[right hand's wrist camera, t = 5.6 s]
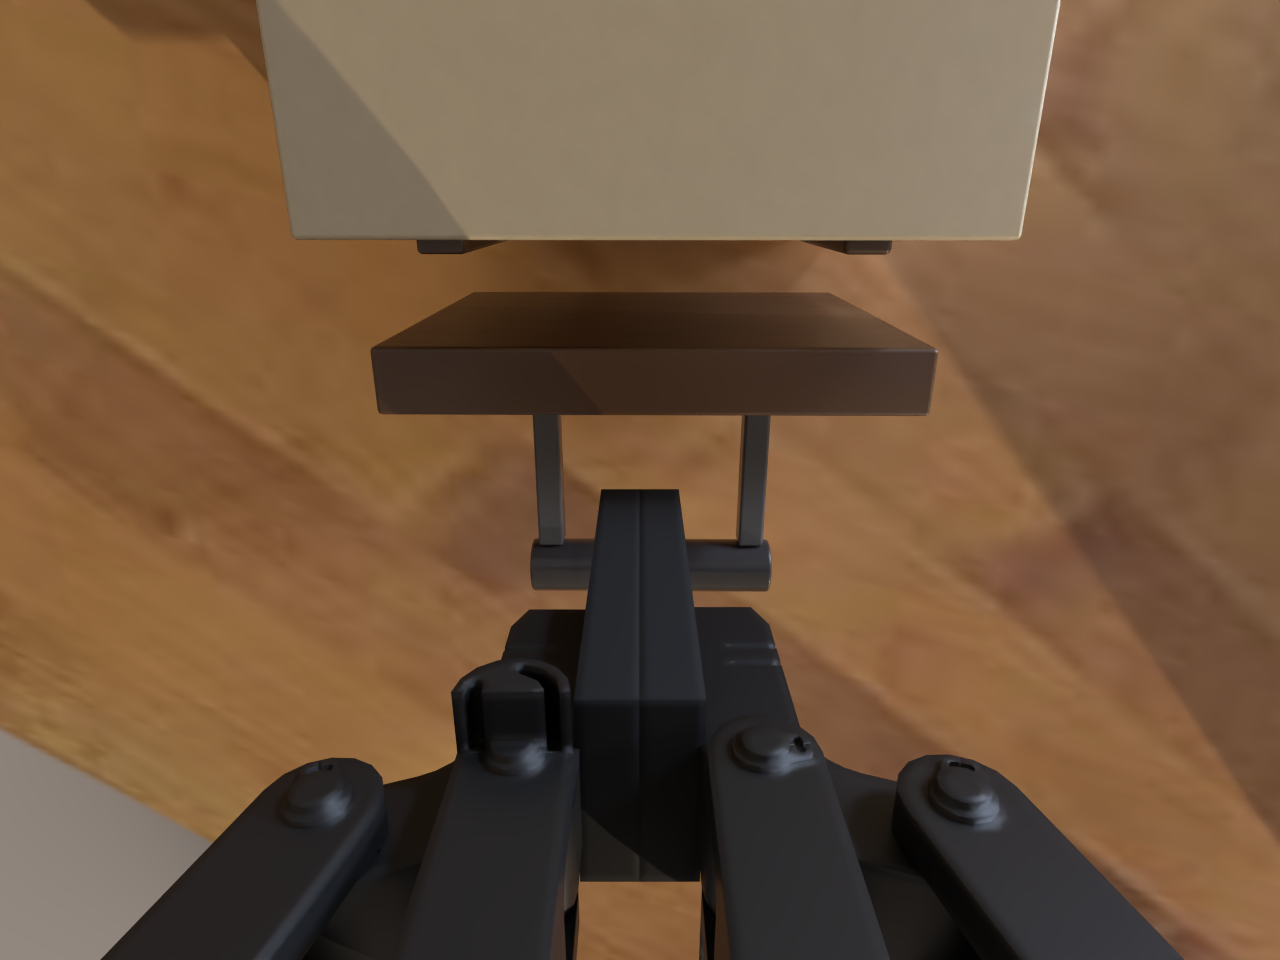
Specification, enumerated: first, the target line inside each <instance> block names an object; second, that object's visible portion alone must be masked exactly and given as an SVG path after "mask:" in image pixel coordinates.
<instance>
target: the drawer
mask: <svg viewBox="0 0 1280 960" xmlns="http://www.w3.org/2000/svg"><path fill="white" fill-rule="evenodd" d="M503 241H507V240H417V248H418V252H419V253H421V254H464V253H467V252H470V251H474V250H477V249H480V248H484V247H487V246H490V245H494V244H497V243H500V242H503ZM799 241H802V242H806V243H809V244H813V245H816V246H820V247H823V248H827V249H831V250H834V251H838V252H841V253H845V254H884V255H885V254H887V253H889V252H890V250H891V246H892V240H799ZM937 357H938V351H937V349H936V348H934V347H932V346H930V345H928V344H926V343H924V342H922V341H920V340H919V339H917V338H915V337H913V336H911V335H909V334H907V333H905V332H903V331H901V330H899V329H898V328H896V327H894V326H892V325H890V324H888V323H886V322H884V321H882V320H880V319H878V318H877V317H875V316H873V315H871V314H869V313H867V312H865V311H863V310H861V309H859V308H857V307H856V306H854V305H852V304H850V303H848V302H846V301H844V300H842V299H840V298H838V297H836V296H835V295H833V294H831V293H662V292H474V293H472V294H470V295H468V296H466V297H464V298H462V299H461V300H459V301H457V302H455V303H453V304H451V305H450V306H448V307H446V308H444V309H442V310H440V311H439V312H437V313H435V314H433V315H431V316H429V317H427V318H426V319H424V320H422V321H420V322H418V323H416V324H415V325H413V326H411V327H409V328H407V329H405V330H404V331H402V332H400V333H398V334H396V335H394V336H393V337H391V338H389V339H387V340H385V341H383V342H381V343H380V344H378V345H376V346H374V347H372V348H371V359H372V367H373V375H374V383H375V391H376V399H377V407H378V411H379V413H381V414H463V415H533V429H534V449H535V469H536V488H537V508H538V528H539V538H537V539H534V541H533V544H532V549H531V561H530V574H531V584H532V587H533V589H534V590H588V587H589V580H590V572H591V565H592V557H593V549H594V542H595V539H565V535H566V534H565V507H564V480H563V453H562V426H561V415H742V426H741V446H740V466H739V486H738V507H737V527H736V537H737V539H685V542H686V549H687V557H688V565H689V572H690V580H691V587H692V591H768V589H769V587H770V582H771V552H770V546H769V543H768V541H767V540H763V527H764V512H765V496H766V480H767V464H768V448H769V432H770V416H771V415H783V416H926V415H929V413H930V407H931V400H932V393H933V385H934V378H935V371H936V364H937Z"/></svg>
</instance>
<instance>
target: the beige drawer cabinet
mask: <svg viewBox="0 0 1280 960" xmlns="http://www.w3.org/2000/svg"><path fill="white" fill-rule="evenodd" d="M1060 1H1061V0H256V6H257V12H258V19H259V26H260V32H261V39H262V45H263V52H264V58H265V65H266V71H267V78H268V84H269V91H270V97H271V104H272V110H273V117H274V124H275V130H276V137H277V143H278V150H279V156H280V163H281V169H282V176H283V182H284V189H285V195H286V202H287V208H288V215H289V222H290V228H291V234H292V236H293V238H295V239H297V240H994V241H1014V240H1017V239H1019V238H1020V236H1021V233H1022V227H1023V221H1024V215H1025V209H1026V203H1027V197H1028V191H1029V185H1030V179H1031V173H1032V167H1033V161H1034V156H1035V150H1036V144H1037V138H1038V132H1039V126H1040V120H1041V114H1042V108H1043V102H1044V96H1045V90H1046V84H1047V78H1048V72H1049V66H1050V61H1051V55H1052V49H1053V43H1054V37H1055V31H1056V25H1057V19H1058V13H1059V7H1060Z"/></svg>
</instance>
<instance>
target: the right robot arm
mask: <svg viewBox="0 0 1280 960" xmlns="http://www.w3.org/2000/svg"><path fill="white" fill-rule="evenodd" d="M451 696H452V706H453V715H454V725H455V734H456V744H457V756H456V759H455V761H453V762H452V763H450V764H448V765H446V766H444V767H442V768H440V769H438V770H436V771H434V772H430V773H427V774H424V775H421V776H418V777H414V778H410V779H405V780H401V781H397V782H393V783H388V784H384V785H383V780H382V777H381V775H380V774H379V773H378V772H377V771H376V769H375V768H374V767H373V766H372V765H370V764H368V763H365V762H363V761H360V760H357V759H355V758H329V759H324V760H320V761H315V762H311V763H307V764H305V765H303V766H301V767H298V768H296V769H294V770H292V771H290V772H288V773H286V774H284V775H282V776H281V777H280V778H279V779H277V780H276V781H275V782H274V783H272V784H271V785H270V786H269V787H267V788H266V789H265V790H264V791H263V792H262V793H261V794H260V795H259V796H258V797H257V798H256V799H255V800H254V801H253V802H252V803H251V804H250V805H249V806H248V807H247V808H246V809H245V810H244V811H243V812H242V813H241V815H240V816H239V817H238V818H237V819H236V820H235V821H234V822H233V823H232V824H231V825H230V826H229V827H228V828H227V829H226V830H225V831H224V832H223V833H222V834H221V835H220V836H219V837H218V838H217V839H216V840H215V841H214V843H213V844H212V845H211V846H210V847H209V848H208V849H207V850H206V851H205V852H204V853H203V854H202V855H201V856H200V857H199V858H198V859H197V860H196V861H195V862H194V863H193V864H192V865H191V866H190V867H189V868H188V870H187V871H186V872H185V873H184V874H183V875H182V876H181V877H180V878H179V879H178V880H177V881H176V882H175V883H174V884H173V885H172V886H171V887H170V888H169V889H168V890H167V891H166V892H165V893H164V894H163V895H162V896H161V898H160V899H159V900H158V901H157V902H156V903H155V904H154V905H153V906H152V907H151V908H150V909H149V910H148V911H147V912H146V913H145V914H144V915H143V916H142V917H141V918H140V919H139V920H138V921H137V922H136V923H135V925H134V926H133V927H132V928H131V929H130V930H129V931H128V932H127V933H126V934H125V935H124V936H123V937H122V938H121V939H120V940H119V941H118V942H117V943H116V944H115V945H114V946H113V947H112V948H111V949H110V950H109V952H107V954H106V955H105V956H104V957H103V958H102V959H101V960H576V957H577V945H578V932H579V899H578V886H579V875H580V882H700V871H701V882H702V899H701V925H700V952H699V960H1184V959H1183V958H1182V957H1181V956H1180V955H1179V954H1178V953H1177V952H1176V951H1175V949H1174V948H1173V947H1172V946H1171V945H1170V944H1169V943H1168V942H1167V941H1166V940H1165V939H1164V938H1163V937H1162V936H1161V935H1160V934H1159V933H1158V932H1157V931H1156V930H1155V929H1154V928H1153V927H1152V926H1151V925H1150V924H1149V923H1148V922H1147V921H1146V920H1145V919H1144V918H1143V917H1142V915H1141V914H1140V913H1139V912H1138V911H1137V910H1136V909H1135V908H1134V907H1133V906H1132V905H1131V904H1130V903H1129V902H1128V901H1127V900H1126V899H1125V898H1124V897H1123V896H1122V895H1121V894H1120V893H1119V892H1118V891H1117V890H1116V889H1115V888H1114V887H1113V886H1112V885H1111V884H1110V883H1109V881H1108V880H1107V879H1106V878H1105V877H1104V876H1103V875H1102V874H1101V873H1100V872H1099V871H1098V870H1097V869H1096V868H1095V867H1094V866H1093V865H1092V864H1091V863H1090V862H1089V861H1088V860H1087V859H1086V858H1085V857H1084V856H1083V855H1082V854H1081V853H1080V852H1079V851H1078V850H1077V848H1076V847H1075V846H1074V845H1073V844H1072V843H1071V842H1070V841H1069V840H1068V839H1067V838H1066V837H1065V836H1064V835H1063V834H1062V833H1061V832H1060V831H1059V830H1058V829H1057V828H1056V827H1055V826H1054V825H1053V824H1052V823H1051V822H1050V821H1049V820H1048V819H1047V818H1046V817H1045V816H1044V814H1043V813H1042V812H1041V811H1040V810H1039V809H1038V808H1037V807H1036V806H1035V805H1034V804H1033V803H1032V802H1031V801H1030V800H1029V799H1028V798H1027V797H1026V796H1025V795H1024V794H1023V793H1022V792H1021V791H1020V790H1019V789H1018V788H1017V787H1016V786H1015V785H1014V784H1012V783H1011V782H1010V781H1009V780H1007V779H1006V778H1005V777H1004V776H1002V775H1001V774H1000V773H998V772H997V771H995V770H993V769H991V768H989V767H987V766H985V765H983V764H980V763H978V762H976V761H974V760H970V759H966V758H961V757H957V756H952V755H925V756H923V757H920V758H918V759H915V760H912V761H910V762H908V763H907V764H906V766H905V767H904V768H903V769H902V770H901V772H900V773H899V774H898V780H897V782H896V781H892V780H888V779H883V778H879V777H875V776H871V775H866V774H862V773H859V772H856V771H853V770H850V769H847V768H844V767H842V766H840V765H838V764H836V763H834V762H832V761H830V760H828V759H827V758H825V757H824V755H823V752H822V750H821V748H820V747H819V745H818V744H817V742H816V740H815V739H814V737H813V736H811V735H810V734H809V733H807V732H806V731H805V730H803V729H802V728H801V727H800V725H799V722H798V719H797V715H796V712H795V709H794V705H793V702H792V699H791V695H790V692H789V689H788V686H787V682H786V679H785V676H784V672H783V669H782V666H781V665H780V659H779V656H778V652H777V649H775V643H774V639H773V636H772V633H771V629H770V626H769V624H768V623H767V622H766V621H765V620H764V619H763V618H762V617H761V616H759V615H758V614H757V613H756V612H755V611H754V610H753V609H752V608H751V607H694V602H693V595H692V587H691V580H690V572H689V565H688V557H687V549H686V542H685V534H684V527H683V519H682V512H681V504H680V496H679V489H601V496H600V504H599V512H598V519H597V527H596V534H595V542H594V549H593V557H592V565H591V572H590V580H589V587H588V595H587V602H586V610H528V611H527V612H526V613H525V614H524V615H523V616H522V617H521V618H520V619H519V620H518V621H517V622H516V623H515V624H514V625H513V626H512V627H511V629H510V632H509V636H508V639H507V642H506V646H505V651H504V652H503V656H502V659H501V660H498V661H495V662H492V663H489V664H486V665H483V666H480V667H477V668H476V669H474V670H473V671H471V672H470V673H468V674H467V675H465V676H464V677H462V678H461V679H460V680H459V682H458V683H457V685H456V686H455V687H454V689H453V690H452V692H451Z"/></svg>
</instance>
